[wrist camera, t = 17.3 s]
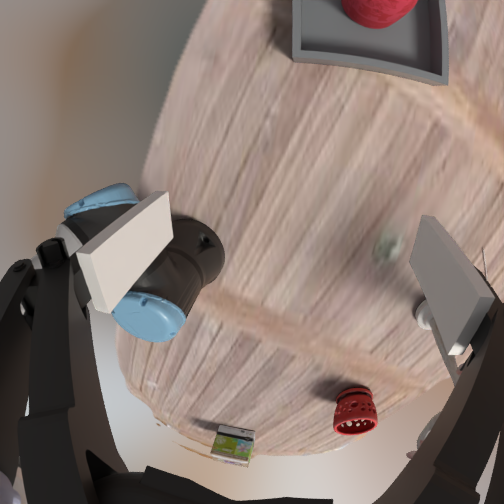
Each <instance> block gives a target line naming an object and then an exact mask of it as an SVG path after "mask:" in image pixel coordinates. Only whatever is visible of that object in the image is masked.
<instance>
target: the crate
mask: <svg viewBox="0 0 504 504" xmlns="http://www.w3.org/2000/svg"><path fill="white" fill-rule="evenodd" d="M292 13H293V28H292V58H293V60H294V62H297V63H312V64H323V65H333V66H341V67H349V68H355V69H362V70H368V71H373V72H379V73H384V74H389V75H393V76H398V77H402V78H407V79H411V80H415V81H418V82H422V83H426V84H429V85H433V86H442V85H448V76H449V48H448V27H447V15H446V5H445V0H418V1H417V3H416V5H415V6H414V7H413V8H412V9H411V10H410V11H409V12H408V13H407V14H406V15H405V16H403V17H402V18H401V19H399V20H398V21H397V22H395V23H394V24H392V25H390V26H388V27H386V28H382V29H371V28H367V27H364V26H361V25H359V24H357V23H356V22H354V21H353V20H352V19H351V18H350V17H349V16H348V15H347V14H346V12H345V11H344V9H343V6H342V3H341V0H292Z"/></svg>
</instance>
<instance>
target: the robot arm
mask: <svg viewBox="0 0 504 504" xmlns="http://www.w3.org/2000/svg"><path fill="white" fill-rule="evenodd" d="M64 218H65V219H66V220H65V221H64V222H62V223H61V224H59V225H58V227H57V231H56V237H55V238H51V239H49V240H46V241H44V242H43V243H41V244H40V245H39V246H38V247H37V248H36V252H37V254H36V255H35V256H34V257H33V258H31V259H23V260H19V261H17V262H15V264H13V265H12V266H11V267H10V268H9V269H8V271H7V273H6V274H5V275H4V277H3V279H2V280H1V282H0V504H333V499H308V498H292V497H282V498H273V499H262V500H247V501H235V500H231V499H228V498H226V497H224V496H222V495H220V494H217V493H215V492H213V491H211V490H209V489H207V488H205V487H203V486H201V485H199V484H197V483H195V482H194V481H192V480H190V479H187V478H184V477H180V476H177V475H174V474H171V473H167V472H165V471H162V470H159V469H156V468H153V467H150V466H147V467H146V469H145V472H129V471H128V469H127V467H126V465H125V464H124V462H123V460H122V458H121V457H120V455H119V453H118V451H117V449H116V446H115V442H114V439H113V436H112V432H111V429H110V425H109V421H108V417H107V414H106V409H105V405H104V401H103V396H102V392H101V387H100V382H99V377H98V372H97V366H96V360H95V355H94V347H93V340H92V332H91V324H90V314H89V310H88V307H87V305H86V304H87V303H88V302H89V301H90V299H92V302H93V304H94V307H95V309H96V310H97V311H101V312H105V313H108V314H110V313H112V315H113V317H114V319H115V320H116V322H117V323H118V324H119V325H120V326H121V327H122V328H123V329H124V330H126V331H127V332H129V333H130V334H132V335H134V336H135V337H138V338H141V339H143V340H146V341H150V342H165V341H168V340H170V339H172V338H173V337H174V336H175V335H176V334H177V333H178V331H179V330H180V328H181V327H182V326H183V325H184V323H185V321H186V318H187V316H188V314H189V312H190V310H191V308H192V306H193V304H194V302H195V300H196V298H197V296H198V295H199V293H200V291H201V289H202V288H203V287H205V286H206V285H207V284H209V283H211V282H212V281H214V280H215V279H216V278H217V276H218V275H219V273H220V272H221V270H222V268H223V265H224V261H225V253H224V248H223V245H222V243H221V241H220V239H219V238H218V236H217V235H216V234H215V233H214V232H213V231H212V230H211V229H210V228H209V227H207V226H206V225H204V224H202V223H200V222H197V221H194V220H188V219H182V220H177V221H174V222H171V214H170V205H169V195H168V191H155V192H153V193H152V194H151V195H149V196H148V197H146V198H145V199H144V200H142V201H141V202H140V201H139V200H138V199H137V197H136V195H135V194H134V192H133V191H132V189H131V187H130V186H129V185H127V184H124V183H118V184H114V185H111V186H108V187H106V188H103V189H101V190H98V191H96V192H94V193H92V194H90V195H88V196H86V197H84V198H83V199H81V200H79V201H77V202H75V203H73V204H72V205H70V206H69V207H67V208H66V210H65V211H64ZM409 262H410V264H411V266H412V268H413V271H414V273H415V275H416V277H417V279H418V281H419V284H420V286H421V288H422V290H423V293H424V295H425V297H426V300H427V302H428V304H429V307H430V309H431V312H432V314H433V316H434V319H435V322H436V324H437V327H438V329H439V332H440V335H441V337H442V340H443V343H444V346H445V349H446V352H447V355H462V354H463V353H464V352H465V350H466V348H467V347H468V345H469V344H471V346H472V349H473V351H472V353H471V354H470V356H469V357H468V359H467V360H466V362H465V363H464V364H463V366H462V367H461V369H460V371H462V370H463V371H462V373H461V375H460V377H459V379H458V381H457V383H456V385H455V388H454V389H453V391H452V393H451V395H450V397H449V399H448V401H447V403H446V405H445V406H444V408H443V410H442V412H441V413H440V415H439V417H438V419H437V420H436V422H435V424H434V425H433V427H432V429H431V430H430V432H429V433H428V435H427V436H426V438H425V440H424V441H423V443H422V444H421V446H420V447H419V449H418V450H417V451H416V453H415V454H414V456H413V457H412V459H411V460H410V461H409V463H408V464H407V465H406V467H405V468H404V469H403V471H402V472H401V473H400V474H399V476H398V477H397V478H396V480H395V481H394V482H393V483H392V485H391V486H390V487H389V488H388V489H387V490H386V492H385V493H384V494H383V495H382V496H381V497H380V498H378V500H376V501H375V502H374V503H372V504H478V503H479V501H480V494H479V493H477V492H476V491H475V490H476V486H477V483H478V481H479V479H480V477H481V475H482V473H483V471H484V469H485V467H486V464H487V462H488V460H489V457H490V455H491V453H492V450H493V448H494V445H495V443H496V440H497V437H498V435H499V432H500V437H499V444H498V449H497V454H496V460H495V464H494V469H493V473H492V477H491V481H490V485H489V489H488V492H487V496H486V500H485V502H484V504H504V303H502V302H501V300H500V299H499V297H498V296H497V294H496V293H495V291H494V290H493V288H492V287H490V286H491V285H490V284H489V282H488V281H486V280H487V279H486V278H485V277H484V275H483V274H482V272H481V271H479V270H478V269H477V268H476V267H475V266H474V265H473V264H472V263H471V262H470V260H469V259H468V258H467V256H466V255H465V254H464V252H463V251H462V250H461V248H460V247H459V246H458V245H457V243H456V242H455V241H454V239H453V238H452V237H451V236H450V235H449V233H448V232H447V231H446V230H445V228H444V227H443V226H442V225H441V224H440V223H439V221H438V220H437V219H436V218H435V217H433V216H427V215H422V217H421V221H420V225H419V229H418V233H417V237H416V240H415V244H414V247H413V251H412V254H411V258H410V261H409ZM28 396H29V415H28V416H25V411H26V406H27V401H28ZM19 456H20V457H19Z"/></svg>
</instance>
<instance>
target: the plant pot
mask: <svg viewBox="0 0 504 504" xmlns="http://www.w3.org/2000/svg"><path fill="white" fill-rule="evenodd" d="M372 399H373V394H372V393H371V392H370V391H369V390H367V389H364V388H351V389H348V390H345V391H343V392H342V393H340V394H339V395H338V397H337V398H336V403H337V407H336V410H335V414H334V422H333V428H334V431H335V432H337V433H339V434H342V435H358V434H362V433H366V432H368V431H371V430H372V429H374V428H375V427H376V426H377V412H376V408H375V405H374V403H373V401H372ZM361 419H365V420H364V421H363V422H362V421H361ZM354 420H358V421H356V422H355V421H354ZM348 421H351V422H352V426H347V424H346V422H348ZM371 421H372V423H371ZM357 423H360V426H358V427H357V426H356V424H357ZM364 423H366V425H364ZM341 424H343V425H344V427H342V426H341Z"/></svg>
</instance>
